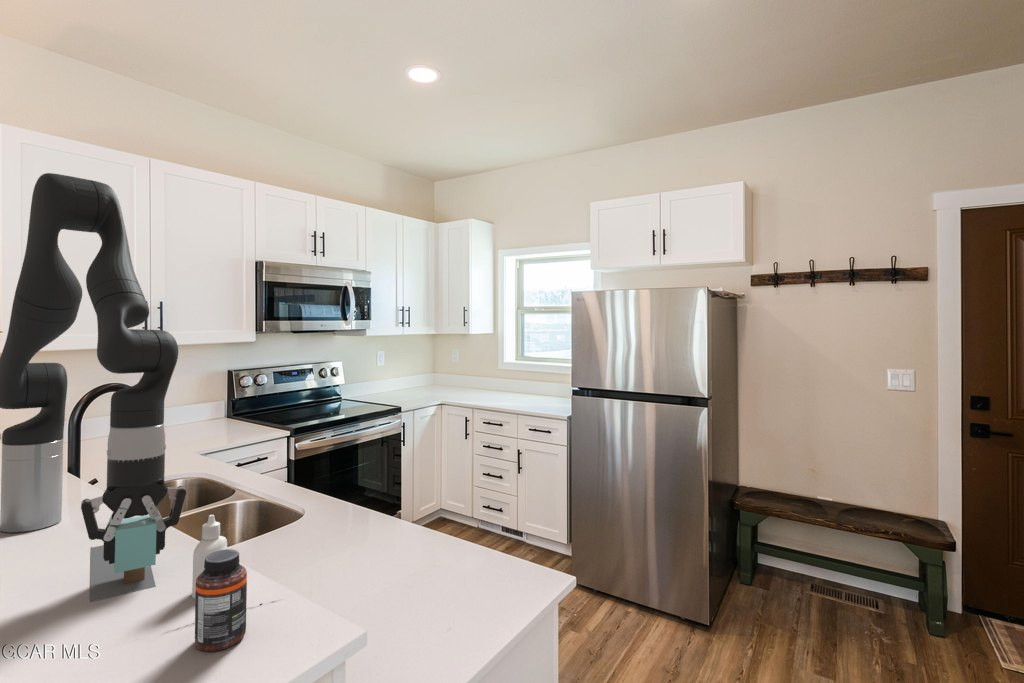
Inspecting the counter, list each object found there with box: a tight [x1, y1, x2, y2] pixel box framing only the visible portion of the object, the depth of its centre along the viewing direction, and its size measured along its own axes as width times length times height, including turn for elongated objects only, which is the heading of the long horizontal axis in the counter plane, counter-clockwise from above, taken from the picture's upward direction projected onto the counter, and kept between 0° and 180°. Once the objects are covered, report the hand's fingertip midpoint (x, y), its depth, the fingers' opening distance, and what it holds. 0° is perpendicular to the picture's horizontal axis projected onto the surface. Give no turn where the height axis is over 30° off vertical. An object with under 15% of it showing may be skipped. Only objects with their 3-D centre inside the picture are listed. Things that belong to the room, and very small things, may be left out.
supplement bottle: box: [194, 548, 248, 652], centre depth 67 cm, size 6×6×11 cm
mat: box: [89, 544, 157, 603], centre depth 87 cm, size 24×8×1 cm, turn 39°
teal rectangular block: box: [114, 514, 157, 573], centre depth 82 cm, size 5×5×7 cm
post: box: [124, 567, 145, 584], centre depth 83 cm, size 3×3×7 cm
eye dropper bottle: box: [191, 514, 228, 599], centre depth 80 cm, size 4×6×12 cm
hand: (134, 556), depth 83 cm, fingers closed on teal rectangular block, 5 cm apart
